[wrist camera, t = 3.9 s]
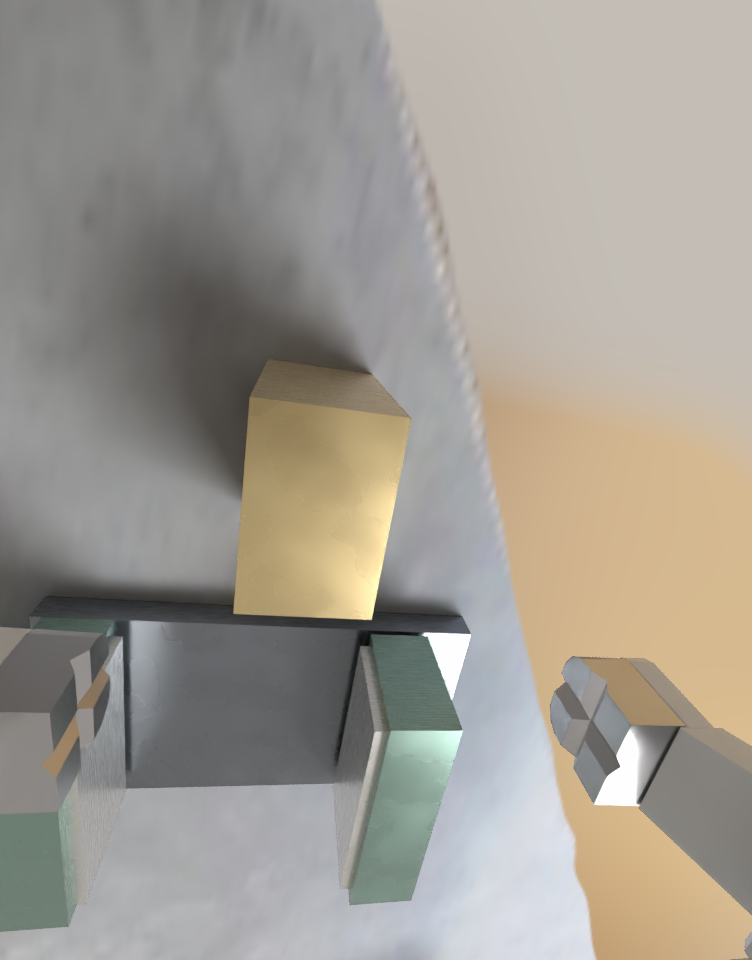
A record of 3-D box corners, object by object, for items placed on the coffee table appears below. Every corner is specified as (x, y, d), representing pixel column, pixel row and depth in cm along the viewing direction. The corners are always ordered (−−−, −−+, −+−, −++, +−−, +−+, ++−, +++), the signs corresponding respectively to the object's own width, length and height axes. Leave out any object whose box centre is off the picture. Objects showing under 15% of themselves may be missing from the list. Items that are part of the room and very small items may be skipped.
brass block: (255, 508, 22) (233, 614, 15) (268, 358, 20) (249, 396, 13) (349, 516, 23) (371, 619, 16) (372, 374, 21) (411, 418, 13)
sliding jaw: (331, 788, 27) (339, 905, 22) (361, 633, 24) (378, 731, 18) (390, 786, 28) (410, 900, 23) (427, 636, 24) (462, 730, 19)
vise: (60, 764, 26) (-27, 933, 19) (45, 596, 22) (-69, 731, 15) (423, 758, 30) (459, 896, 23) (462, 616, 26) (519, 730, 19)
